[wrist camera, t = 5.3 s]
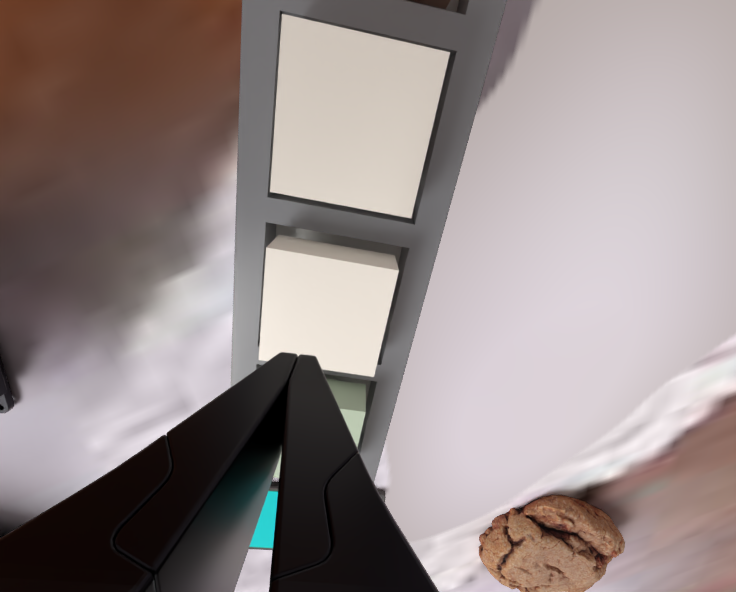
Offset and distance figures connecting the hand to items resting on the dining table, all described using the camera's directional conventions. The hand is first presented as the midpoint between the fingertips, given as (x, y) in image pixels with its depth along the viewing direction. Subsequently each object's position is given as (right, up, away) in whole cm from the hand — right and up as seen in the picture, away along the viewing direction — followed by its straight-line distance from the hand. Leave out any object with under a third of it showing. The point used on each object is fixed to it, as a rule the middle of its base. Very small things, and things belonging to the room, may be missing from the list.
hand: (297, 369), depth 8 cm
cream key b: (0, +2, +7) cm, 8 cm away
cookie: (+16, -18, +20) cm, 31 cm away
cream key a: (+1, +8, +5) cm, 9 cm away
